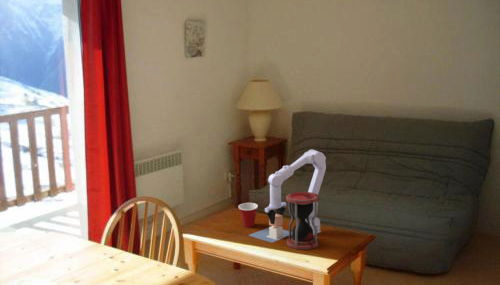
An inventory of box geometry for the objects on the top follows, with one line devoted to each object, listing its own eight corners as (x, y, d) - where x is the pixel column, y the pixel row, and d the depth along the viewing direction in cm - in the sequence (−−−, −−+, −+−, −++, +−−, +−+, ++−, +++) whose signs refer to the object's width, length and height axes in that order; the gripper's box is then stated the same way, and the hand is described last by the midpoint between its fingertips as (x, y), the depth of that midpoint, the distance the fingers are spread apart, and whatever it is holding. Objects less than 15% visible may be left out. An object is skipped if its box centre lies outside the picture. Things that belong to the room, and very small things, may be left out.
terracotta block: (282, 224, 291) (282, 215, 290) (276, 227, 287) (276, 217, 286) (275, 222, 294) (275, 213, 293) (269, 225, 291) (269, 215, 290)
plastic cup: (236, 228, 306) (236, 207, 304) (241, 222, 316) (241, 202, 314) (255, 230, 303) (255, 208, 301) (260, 223, 314) (259, 203, 312)
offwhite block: (282, 236, 292) (282, 226, 291) (276, 238, 288) (276, 229, 287) (275, 234, 295) (275, 225, 294) (269, 236, 292) (269, 227, 291)
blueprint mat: (295, 233, 296) (295, 232, 296) (271, 243, 283) (271, 242, 283) (271, 226, 308) (271, 226, 308) (247, 235, 294) (247, 235, 294)
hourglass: (310, 251, 270) (310, 201, 266) (281, 246, 278) (280, 197, 274) (324, 241, 283) (324, 193, 279) (295, 236, 292) (295, 190, 287)
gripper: (278, 193, 296) (279, 217, 298) (260, 198, 286) (260, 224, 288) (289, 195, 291) (289, 220, 293) (270, 201, 281) (270, 227, 283)
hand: (275, 222), depth 290 cm, fingers closed on terracotta block, 5 cm apart
